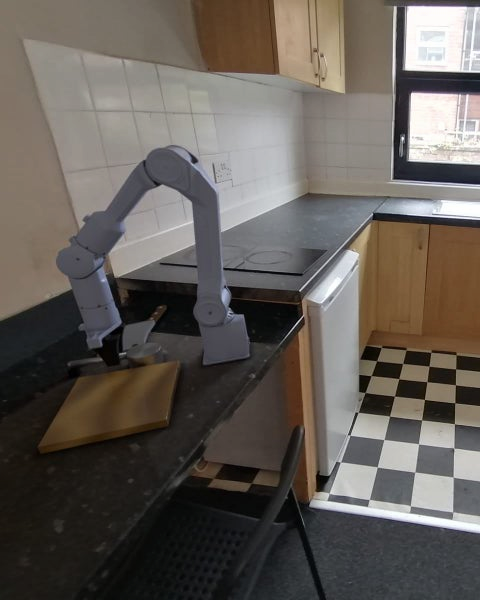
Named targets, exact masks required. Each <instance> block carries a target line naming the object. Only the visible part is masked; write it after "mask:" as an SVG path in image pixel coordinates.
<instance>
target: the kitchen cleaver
mask: <svg viewBox="0 0 480 600" xmlns="http://www.w3.org/2000/svg"><path fill="white" fill-rule="evenodd" d="M167 309H168V307H167V305H166V304H161V305H159V306H157V307H156V308H155V311H154V312H152V314H151V315H150V317H148V318H147V319H146V320H144V321H139V322H134V323H129V324H125V328H124V333H123V353H126V352H127V351H128V350H129V349H131V348H133V347H135V346H137V345H140V344H144V343H147V338H148V336H149V334H150V332H151V331H152V330H153V328H154V326H156V324H157V322H158V321H159V320H160V318H161V317H162V316H163V314H164V313H165V312H166V310H167ZM96 357H100V356H99V355H98V354H97V353H96Z"/></svg>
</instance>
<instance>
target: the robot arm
mask: <svg viewBox="0 0 480 600" xmlns="http://www.w3.org/2000/svg"><path fill="white" fill-rule="evenodd" d="M161 186H165V187H166V188H169V189H173V190H175V191H177V192H178V193H180V194H181V195H182V196H183V197H185V198H186V199H187V200H188V201H190V203H191V208H192V209H191V210H192V220H193V222H192V223H193V232H194V244H195V256H196V267H197V269H196V270H197V288H196V289H197V290H196V298H197V299H196V302H195V305H194V306H193V310H192V312H193V313H192V314H193V316H194V318H195V320H196V321H197V323H198V329H199V332H200V335H201V337H200V338H201V341H202V345H203V346H202V347H203V350H204V351H203V360H202V365H203V366H210V365H211V366H212V365H216V364H220V363H228V362H232V361H233V362H234V361H237V360H244V359H249V358H250V345H251V342H250V337H249V336H248V332H247V325H246V319H245V315H244V314H236V313H234V311H233V310H232V309H231V308H230V303H231V302H232V301H231V300H232V293H231V291H230V289H229V288H228V286H227V279H226V277H225V274H224V259H223V257H224V256H223V244H222V241H223V240H222V239H223V238H222V225H221V224H222V223H221V208H220V205H221V204H220V193H219V189H218V187H217V186H216V184H215V182H214V181H213V180H212V178H211V177H210V176H209V174H208V172H207V171H206V169H205V168H204V166H203V165H202V163H201V161H200V159H199V158H198V157H197V156H196V155H194V154H193V153H192V152H191V151H189V150H188V149H187V148H185V147H183V146H181V145H177V144H170V145H167V146H164V147H157V148H156V147H155V148H154V149H152V150H151V151H150V152H149V153H148V154H147V156H146V158H145V159H142V160H141V161H140V162H139V163H138V164H137V165H136V166H135V167H134V169H133V170H132V171H131V173H130V174H129V175H128V177H127V178H126V180H125V181H124V182H123V184H122V186H121V187H120V189H119V190H118V191H117V192H116V194H115V196H114V197H113V199H112V200H111V201H110V203H109V205H108V206H107V207H106V209H105V210H96V211H93V212H92V213H91V214H90V213H88V214H85V216H84V217H83V218H82V222H84V224H83V225H82V226H81V228H80V229H79V230H78V232H77V233H76V235H71V236H70V237H69V239H68V242H69V243H70V245H69V246H67V247H65V248H62V249H60V250H59V251H58V253H57V256H56V258H55V265H56V267H57V269H58V271H59V272H60V273H62V274H63V275H64V276H66V277H67V279H68V281H69V283H70V284H69V285H70V287H71V291H72V293H73V296H74V298H75V299H74V300H75V302H76V304H77V307H78V310H79V312H80V315H81V318H82V322H83V323H80V324H79V326H78V328H77V329H78V331H80V332H81V331H82V332H83V331H85V334H86V338H85V341H84V343H85V345H86V347H88V349H89V350H90V349H91V350H93V351H94V352H95V353H96V355H97V354H98V355H99V356H98V357H101V359H102V360H103V361H104V363H103V364H104V365H106V367H107V368H110V367H115V366H119V365H120V363H121V360H120V355H119V354H120V353H123V333H124V328H125V325H126V323H125V322H123V321H122V319H121V317H120V312H119V310H118V307H116V304H115V300H114V296H113V294H112V291H111V288H110V284H109V280H108V279H107V278H108V277H107V276H106V272H105V269H104V264H105V263H106V259H107V256H108V255H109V254H110V252H111V251H112V250H113V249H114V247H115V246H116V245H117V243H118V242H119V241H120V240H121V238H122V237H123V236H124V235H125V233H126V231H127V227H126V223H125V220H126V219H127V218H128V216H129V215H130V214H131V212H133V210H134V209H135V208H136V206H138V204H139V203H140V202H141V201H142V200H143V199H144V197H145V196H146V195H147V193H148V192H149V191H151V190H154V189H157V188H159V187H161Z"/></svg>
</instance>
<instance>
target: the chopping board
mask: <svg viewBox="0 0 480 600" xmlns="http://www.w3.org/2000/svg"><path fill="white" fill-rule="evenodd" d="M181 366H182V365H181V362H180V360H179V359H178V360H174V361H173V360H172V361H167V362H162V363H161V364H155V365H149V366H143V367H137V368H132V369H130V368H127V369H120V370H114V371H109V372H103V373H98V374H91V375H85V376H81V377H80V376H78V377H77V380H76V381H75V383H74V385H73V387H72V388H71V390H70V391H69V393H68V395H67V397H66V398H65V399H64V402H63V403H62V405H61V406H60V408H59V411H58V412H57V413H56V415H55V417H54V419H53V420H52V422H51V424H50V425H49V427H48V428H47V430H46V432H45V434H44V435H43V437H42V438H41V440H40V442H39V444H38V445H37V449H38V451H39V453H40V455H43V454H47V453H52V452H56V451H62V450H64V449H70V448H74V447H80V446H84V445H87V444H93V443H97V442H101V441H106V440H111V439H115V438H120V437H125V436H130V435H133V434H139V433H143V432H147V431H153V430H157V429H162V428H166V427H169V424H170V419H171V414H172V410H173V405H174V400H175V396H176V391H177V387H178V381H179V376H180V371H181Z"/></svg>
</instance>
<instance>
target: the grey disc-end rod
mask: <svg viewBox="0 0 480 600" xmlns="http://www.w3.org/2000/svg"><path fill="white" fill-rule="evenodd" d="M119 355H120V361H124V360H127V363H128V367H129V369H132V368H137V367H143V366H149V365H155V364H161V363H164V359H165V358H164V355H163V351H162V347H161V345H160V344H159V343H157V342H145V343H144V344H140V345H137V346H135V347H133V348H131V349H129V350H128V351H127V352H126V353H120V354H119ZM100 364H105V363H104V361H103V360H102V359H101V357H100V356H96V357H89V358H84V359H83V358H82V359H77V360H71V361H69V362H67V364H66V365H67V370H66V371H67V374H68V376H69V378H76V377H80V375H81V374H82V370H81V367H86V366H93V365H100Z"/></svg>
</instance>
